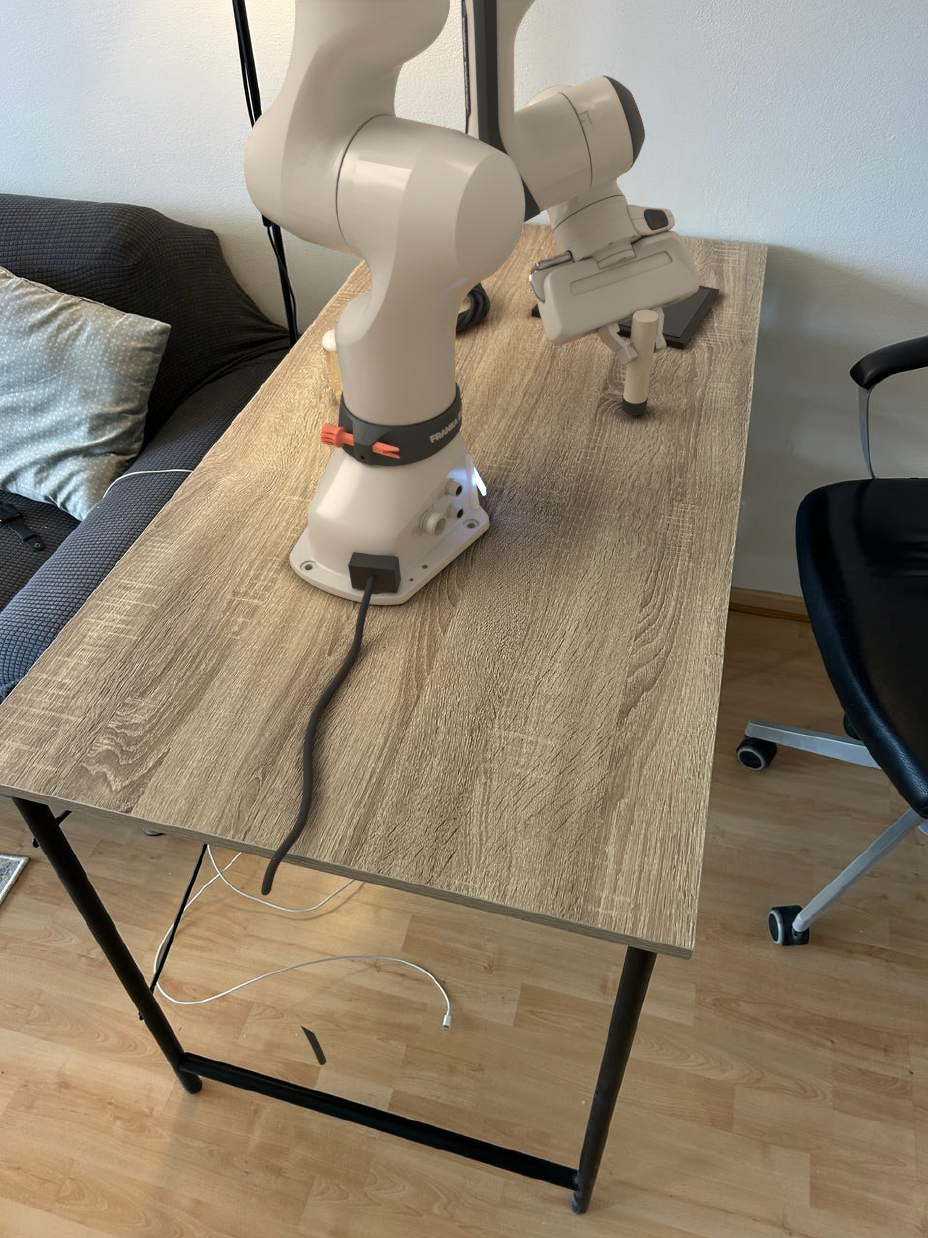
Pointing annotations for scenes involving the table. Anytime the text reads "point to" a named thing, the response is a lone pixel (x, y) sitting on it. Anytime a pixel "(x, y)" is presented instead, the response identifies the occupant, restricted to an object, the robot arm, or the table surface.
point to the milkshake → (332, 362)
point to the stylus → (640, 362)
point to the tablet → (676, 317)
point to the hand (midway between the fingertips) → (644, 356)
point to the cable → (474, 308)
